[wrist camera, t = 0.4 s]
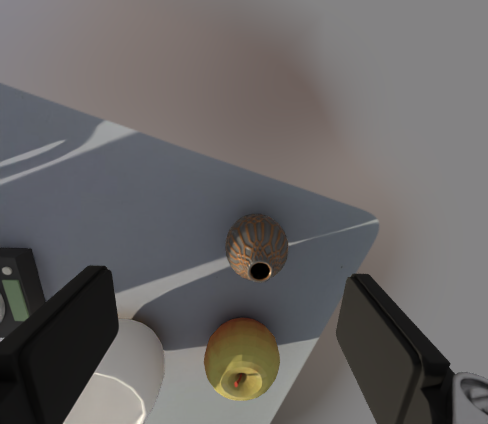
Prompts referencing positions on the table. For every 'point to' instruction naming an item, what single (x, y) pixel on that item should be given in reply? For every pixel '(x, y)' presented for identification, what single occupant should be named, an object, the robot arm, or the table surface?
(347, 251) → the table surface
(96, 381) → the cup
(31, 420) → the robot arm
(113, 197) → the table surface
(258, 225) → the vase
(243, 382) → the apple
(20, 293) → the scale
